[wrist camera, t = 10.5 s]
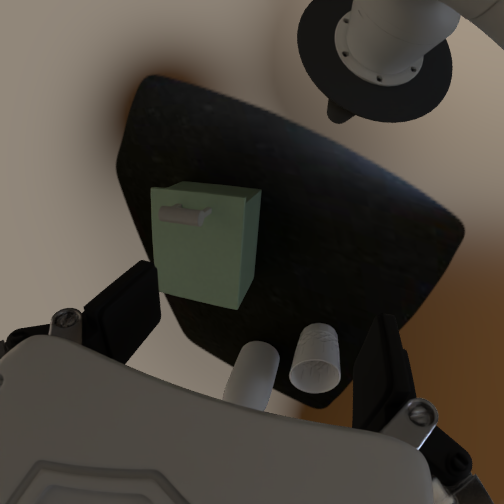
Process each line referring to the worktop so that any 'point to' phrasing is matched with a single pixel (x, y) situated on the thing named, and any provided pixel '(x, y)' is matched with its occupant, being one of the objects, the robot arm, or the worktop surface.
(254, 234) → the chest
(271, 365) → the milk bottle
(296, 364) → the white cup
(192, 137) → the worktop surface
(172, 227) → the lid
